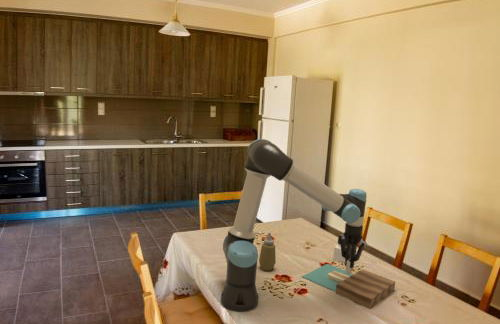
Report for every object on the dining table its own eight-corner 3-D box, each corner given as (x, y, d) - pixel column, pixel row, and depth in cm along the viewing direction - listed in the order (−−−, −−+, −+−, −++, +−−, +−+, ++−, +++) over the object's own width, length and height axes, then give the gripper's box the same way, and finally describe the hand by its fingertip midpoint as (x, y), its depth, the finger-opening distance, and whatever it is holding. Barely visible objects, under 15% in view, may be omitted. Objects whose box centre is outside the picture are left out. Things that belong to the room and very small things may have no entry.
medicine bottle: (346, 263, 199) (348, 241, 197) (332, 259, 203) (335, 238, 201) (350, 259, 205) (353, 237, 203) (337, 255, 209) (339, 234, 207)
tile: (344, 285, 174) (344, 281, 174) (327, 278, 180) (327, 274, 180) (350, 281, 179) (351, 277, 179) (333, 274, 185) (333, 270, 184)
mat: (335, 292, 168) (335, 291, 168) (301, 277, 180) (301, 276, 180) (359, 277, 184) (359, 276, 184) (327, 264, 196) (327, 263, 196)
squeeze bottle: (273, 273, 182) (276, 236, 179) (257, 270, 184) (259, 234, 181) (276, 266, 190) (279, 231, 187) (260, 263, 192) (262, 229, 189)
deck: (370, 308, 157) (371, 299, 156) (335, 293, 167) (336, 284, 167) (394, 289, 174) (395, 281, 174) (361, 277, 185) (362, 269, 184)
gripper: (371, 226, 170) (365, 276, 174) (345, 218, 179) (339, 266, 183) (363, 229, 165) (357, 281, 169) (337, 221, 174) (331, 270, 178)
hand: (348, 273), depth 176 cm, fingers closed
